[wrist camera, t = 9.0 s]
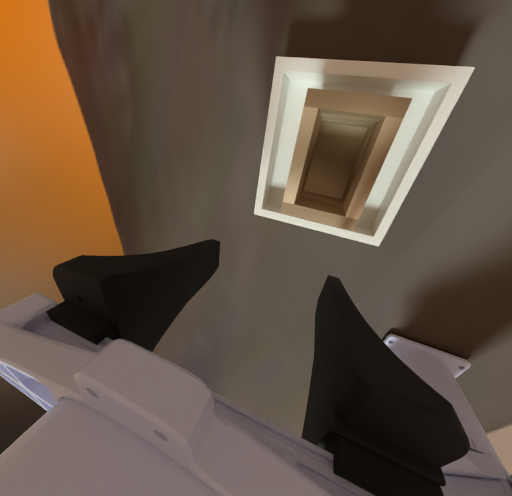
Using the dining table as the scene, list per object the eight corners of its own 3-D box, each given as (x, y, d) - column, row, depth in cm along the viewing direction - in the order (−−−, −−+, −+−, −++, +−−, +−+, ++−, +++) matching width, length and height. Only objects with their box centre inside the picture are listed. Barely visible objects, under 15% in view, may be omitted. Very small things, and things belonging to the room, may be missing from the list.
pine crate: (346, 208, 17) (353, 231, 12) (294, 196, 19) (280, 212, 13) (382, 117, 14) (412, 97, 9) (315, 109, 15) (307, 87, 10)
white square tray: (372, 234, 18) (378, 246, 16) (262, 207, 21) (253, 214, 18) (448, 83, 13) (475, 67, 10) (284, 71, 15) (276, 56, 13)
